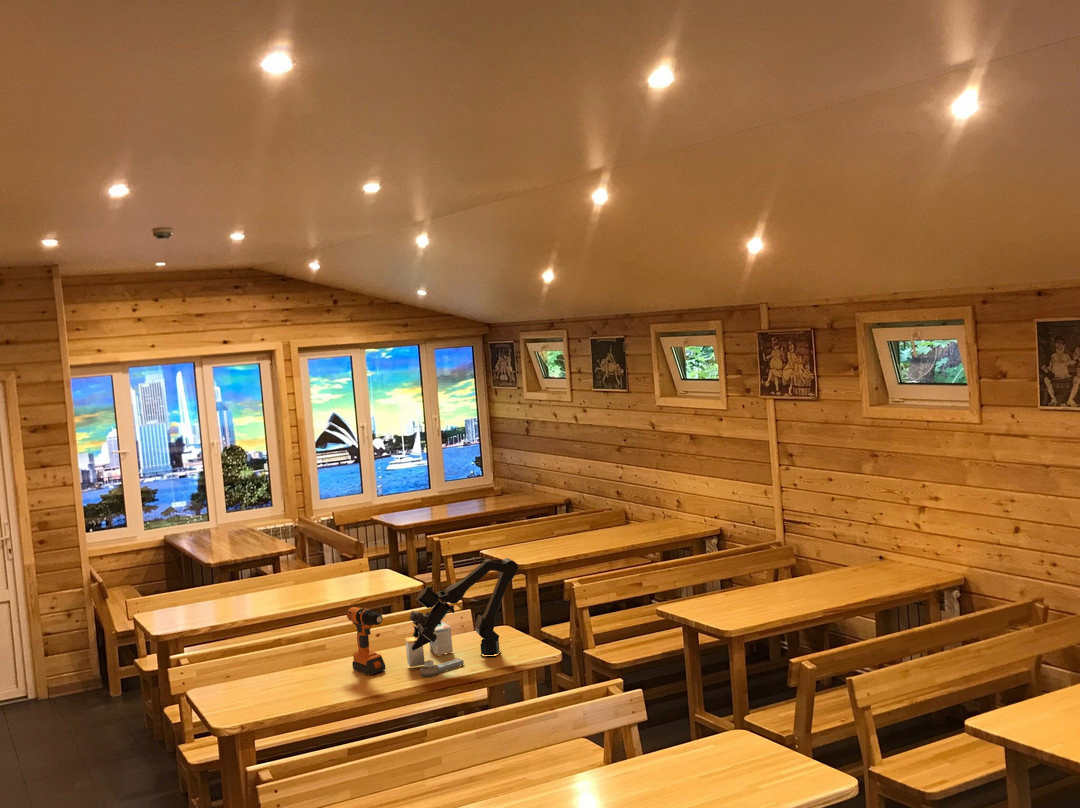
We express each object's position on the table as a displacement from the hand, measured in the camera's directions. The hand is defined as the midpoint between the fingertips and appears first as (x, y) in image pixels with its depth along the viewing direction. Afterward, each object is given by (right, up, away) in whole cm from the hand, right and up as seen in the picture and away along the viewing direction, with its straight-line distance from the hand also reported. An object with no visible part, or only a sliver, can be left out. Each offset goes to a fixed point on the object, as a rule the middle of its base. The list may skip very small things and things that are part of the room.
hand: (411, 647), depth 397 cm
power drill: (-15, -10, 0) cm, 18 cm away
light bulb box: (+10, -7, +20) cm, 24 cm away
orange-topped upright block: (+2, -6, +1) cm, 7 cm away
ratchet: (+12, -7, -5) cm, 15 cm away
